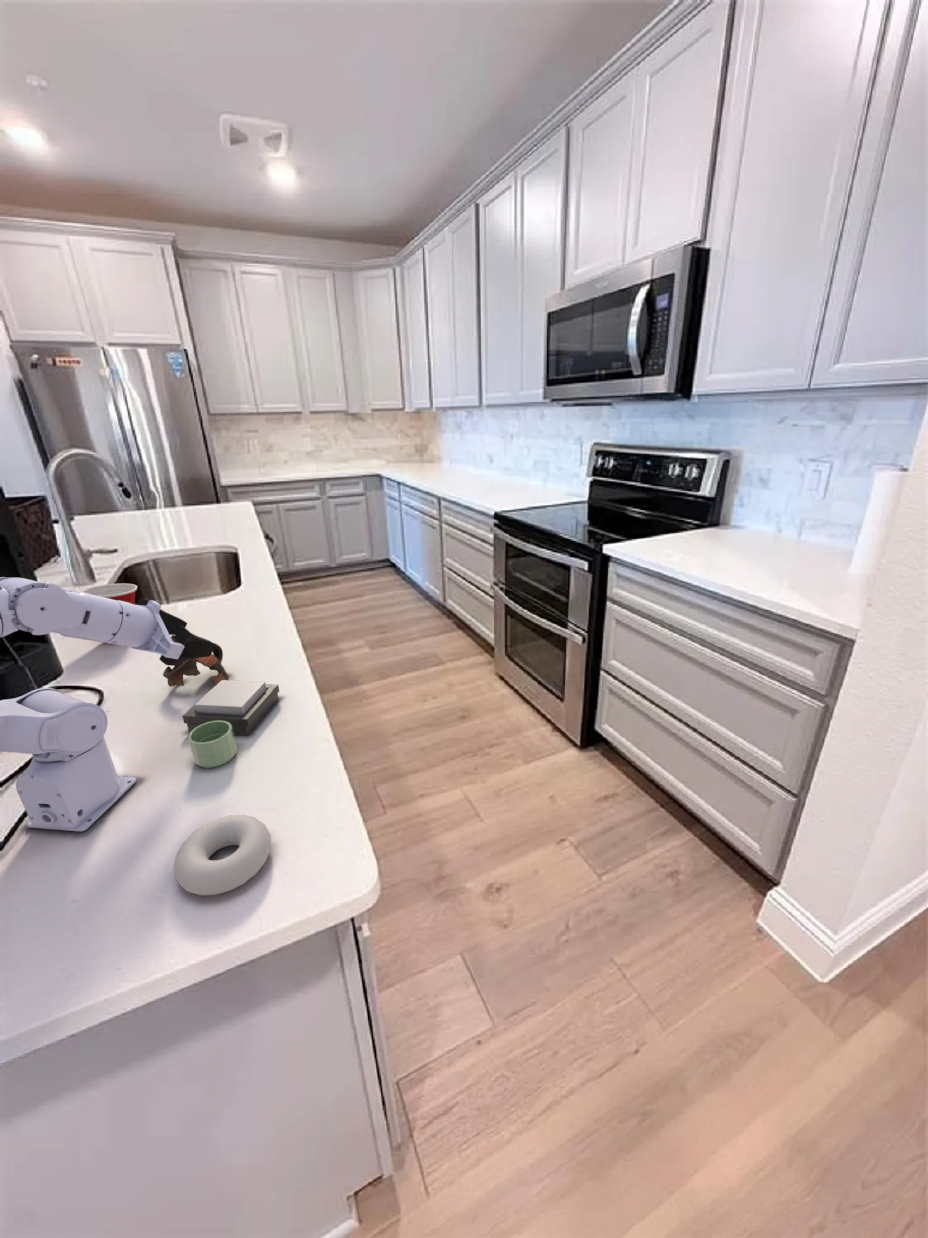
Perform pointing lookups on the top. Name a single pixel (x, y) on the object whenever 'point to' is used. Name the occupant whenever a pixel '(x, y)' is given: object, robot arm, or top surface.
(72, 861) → the top surface
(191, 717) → the scale
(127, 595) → the plastic cup
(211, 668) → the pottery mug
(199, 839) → the donut
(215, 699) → the scale pan
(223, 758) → the bowl
